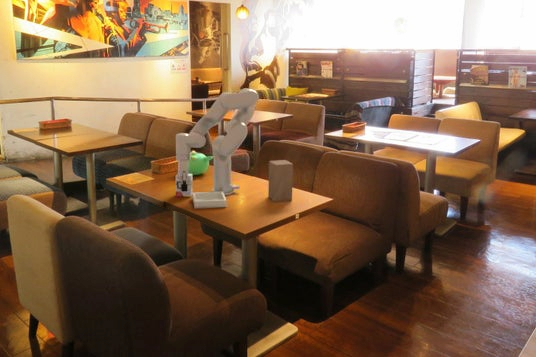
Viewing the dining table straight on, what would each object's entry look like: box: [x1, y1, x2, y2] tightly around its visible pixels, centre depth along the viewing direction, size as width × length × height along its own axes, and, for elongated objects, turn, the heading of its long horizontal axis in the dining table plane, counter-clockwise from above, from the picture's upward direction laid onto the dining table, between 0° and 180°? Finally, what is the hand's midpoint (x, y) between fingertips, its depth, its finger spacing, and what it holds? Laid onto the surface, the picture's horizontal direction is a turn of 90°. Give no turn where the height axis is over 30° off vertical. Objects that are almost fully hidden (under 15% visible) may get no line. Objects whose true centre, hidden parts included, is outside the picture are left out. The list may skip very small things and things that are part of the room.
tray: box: [192, 191, 228, 209], centre depth 259 cm, size 16×16×4 cm
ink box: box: [175, 173, 194, 198], centre depth 270 cm, size 9×5×12 cm, turn 90°
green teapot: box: [188, 150, 214, 176], centre depth 314 cm, size 18×17×15 cm
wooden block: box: [267, 159, 294, 203], centre depth 267 cm, size 10×10×20 cm
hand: (184, 189), depth 270 cm, fingers closed on ink box, 5 cm apart
